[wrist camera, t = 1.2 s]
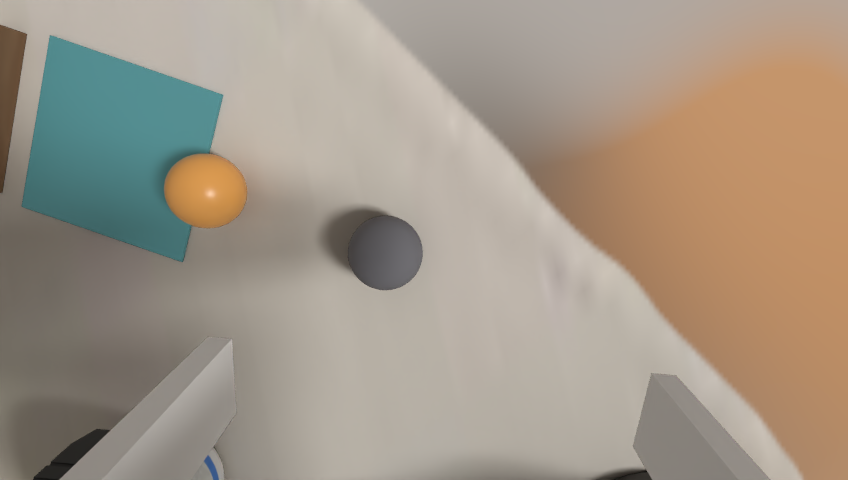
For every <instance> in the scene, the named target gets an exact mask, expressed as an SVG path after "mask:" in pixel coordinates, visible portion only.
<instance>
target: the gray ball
mask: <svg viewBox="0 0 848 480" xmlns="http://www.w3.org/2000/svg"><path fill="white" fill-rule="evenodd" d="M422 256H423V251H422V244H421V240H420V238H419V236H418V234H417V232H416V231H415V230H414V229H413V227H412V226H411V225H409V224H408V223H407V222H405V221H403V220H402V219H399V218H397V217H393V216H378V217H375V218H372V219H369V220H367V221H366V222H364V223H363V224H361V225H360V226H359V227H358V228H357V230H356V231H355V232H354V234H353V235H352V237H351V240H350V243H349V247H348V259H349V263H350V266H351V269H352V271H353V272H354V274H355V275H356V276H357V278H358V279H359V280H360V281H361V282H363V283H364V284H366V285H367V286H369V287H372V288H375V289H379V290H392V289H396V288H399V287H401V286H403V285H405V284H406V283H408V282H409V281H410V280H411V279H412V278H413V277H414V276H415V275H416V273H417V271H418V270H419V268H420V265H421V262H422Z"/></svg>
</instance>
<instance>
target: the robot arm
mask: <svg viewBox="0 0 848 480" xmlns="http://www.w3.org/2000/svg"><path fill="white" fill-rule="evenodd" d="M236 413H237V412H236V395H235V379H234V362H233V346H232V339H230V338H218V337H207V338H206V339H205V340H204V341H203V342H202V343H201V344H200V345H199V346H198V347H197V348H196V349H195V350H194V351H193V352H192V353H190V354H189V355H188V356H187V357H186V358H185V359H184V360H183V361H182V362H181V363H180V364H179V365H178V366H177V367H176V368H175V369H174V370H173V371H172V372H171V373H170V374H169V375H168V376H167V377H166V378H164V379H163V380H162V381H161V382H160V383H159V384H158V385H157V386H156V387H155V388H154V389H153V390H152V391H151V392H150V393H149V394H148V395H147V396H146V397H145V398H144V399H143V400H142V401H141V402H140V403H138V404H137V405H136V406H135V407H134V408H133V409H132V410H131V411H130V412H129V413H128V414H127V415H126V416H125V417H124V418H123V419H122V420H121V421H120V422H119V423H118V424H117V425H116V426H115V427H114V428H112V429H111V430H103V429H96V430H94V431H92V432H91V433H89V434H87V435H86V436H84V437H82V438H80V439H79V440H77V441H75V442H73V443H72V444H70V445H69V446H68V447H67V448H66V449H65V450H64V451H63V452H61V453H60V454H59V455H58V456H57V457H56V458H55V459H54V460H53V461H51V464H50V465H49V466H46V467H45V468H44V469H42V470H41V471H40V472H39V473H38V474H37V475H36V476H35V477H34V479H33V480H191V479H192V477H193V476H194V475H195V473H196V472H197V470H198V469H199V467H200V466H201V464H202V463H203V461H204V460H205V458H206V457H207V455H208V454H209V452H210V451H211V450H212V448H213V447H214V445H215V444H216V442H217V441H218V439H219V438H220V436H221V435H222V433H223V432H224V430H225V429H226V427H227V426H228V425H229V423H230V422H231V420H232V419H233V417H234V416H235V414H236ZM633 448H634V449H635V451H636V453H637V454H638V456H639V458H640V460H641V461H642V463H643V465H644V466H645V468H646V470H647V472H644V473H637V474H632V475H627V476H624V477H621V478H618V479H615V480H770V479H769V478H768V476H767V475H766V474H765V473H764V472H763V471H762V470H761V469H760V468H759V466H758V465H757V464H756V463H755V462H754V461H753V460H752V459H751V458H750V457H749V455H748V454H747V453H746V452H745V451H744V450H743V449H742V448H741V447H740V445H739V444H738V443H737V442H736V441H735V440H734V439H733V438H732V437H731V436H730V434H729V433H728V432H727V431H726V430H725V429H724V428H723V427H722V426H721V424H720V423H719V422H718V421H717V420H716V419H715V418H714V417H713V416H712V414H711V413H710V412H709V411H708V410H707V409H706V408H705V407H704V406H703V405H702V403H701V402H700V401H699V400H698V399H697V398H696V397H695V396H694V395H693V393H692V392H691V391H690V390H689V389H688V388H687V387H686V386H685V385H684V383H683V382H682V381H681V380H680V379H679V378H678V377H677V376H676V375H666V374H654V373H651V377H650V381H649V384H648V388H647V392H646V396H645V400H644V404H643V408H642V412H641V416H640V420H639V424H638V428H637V432H636V436H635V440H634V444H633Z"/></svg>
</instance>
